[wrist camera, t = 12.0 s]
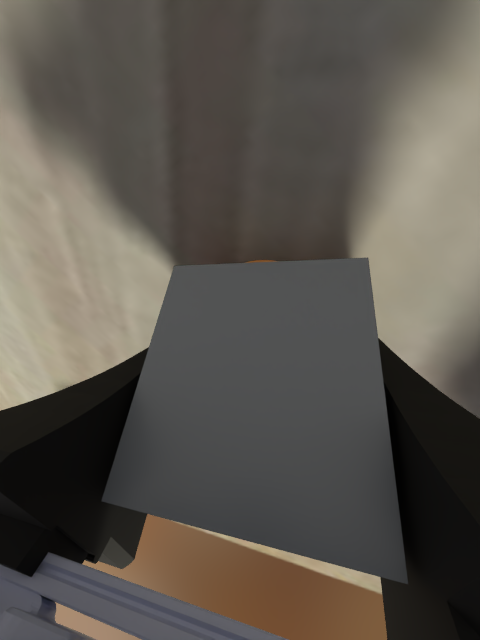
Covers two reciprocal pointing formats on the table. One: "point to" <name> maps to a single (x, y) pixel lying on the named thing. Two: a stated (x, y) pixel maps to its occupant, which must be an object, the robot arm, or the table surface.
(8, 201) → the table surface
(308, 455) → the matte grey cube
